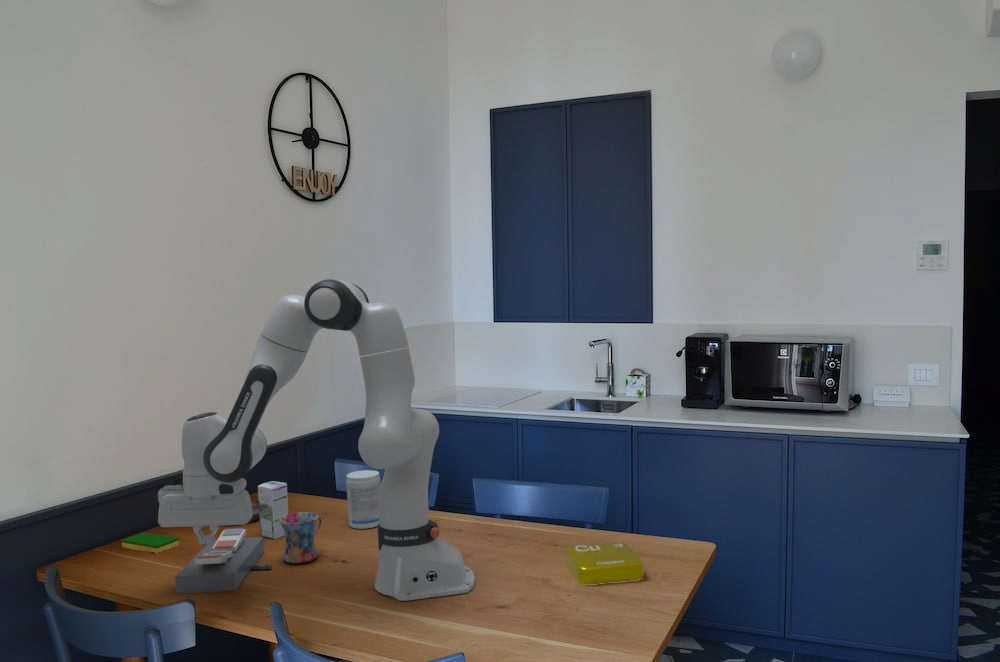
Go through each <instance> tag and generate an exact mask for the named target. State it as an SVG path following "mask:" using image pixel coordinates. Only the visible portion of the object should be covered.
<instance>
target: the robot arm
mask: <svg viewBox="0 0 1000 662" xmlns="http://www.w3.org/2000/svg"><path fill="white" fill-rule="evenodd" d="M322 329H327V330H334V331H345V332H348V331H349V332H351V333H352V334H353V337H355V341H356V344H357V348H358V349H357V350H358V354H359V359H360V365H361V370H362V371H361V372H362V375H363V377H362V378H363V382H364V389H365V411H364V423H363V428H362V432H361V433H360V435H359V438H358V443H357V445H358V446H357V448H358V452H359V455H360V456H359V457H361V459H362V461H363V462H364V463H365V464H366V465H367V466H368V467H370V468H372V469H375V470H384V474H383V477H382V480H381V481H380V486H379V490H378V502H379V524H378V526H377V531H376V532H377V533H376V535H377V536H376V537H377V547H378V551H379V554H378V568H377V574H376V577H375V583H374V589H375V591H377V592H378V593H380V594H383V595H384V596H390V597H392V598H394V599H396V601H398V602H399V601H400V602H407V601H414V600H423V599H429V598H430V597H431V598H438V597H445V596H452V595H454V596H455V595H459V594H467V593H469V592H470V591H471V590H472V589H473V588H474V587H475V583H476V580H475V578H476V577H475V573H474V571H473V569H472V568H470V567H468V566H466V565H465V562H464V558H463V556H462V553H461V551H460V550H459V549H458V548H457V547H456V546H455V545H452V544H451V543H449V542H448V541H446V540H445V539H443V538H442V537H440V534H441V531H440V528H439V525H438V522H437V520H434V521H433V520H431V519H430V518H429V517H430V515H429V514H430V513H429V481H430V473H431V467H432V463H433V462H432V461H433V454H434V450H435V446H436V443H437V440H438V439H439V435H440V425H439V422H438V419H437V418H436V417H435V415H434V414H433V413H431V411H428V410H426V409H423V408H414V407H413V408H412V395H413V390H414V388H415V384H416V378H415V374H414V373H415V372H414V367H413V363H412V357H411V353H410V348H409V343H408V337H407V334H406V331H405V327H404V324H403V322H402V319H401V317H400V314H399V311H398V310H397V308H396V307H395V306H393V305H392V304H389V303H386V302H373V303H370V301H369V297H368V295H367V293H366V292H365V291H364V290H363V289H362V288H361V287H359V286H358V285H356V284H354V283H350V282H348V281H346V280H341V279H324V280H323V279H322V280H321V281H318V282H316V283H314V284H313V285H312V286H311V287H310V288H309V289H308V290H307V293H306V294H305V296H303V295H299V294H287V295H284V296H282V297H280V299H278V301H277V302H276V304H275V305H274V307H273V309H272V310H271V312H270V314H269V315H268V317H267V319H266V321H265V323H264V326H263V328H262V330H261V332H260V334H259V337H258V340H257V342H256V345H255V349H254V351H253V355H252V358H251V360H250V365H249V367H248V369H247V370H248V371H247V373H246V376H245V378H244V379H245V380H244V383H243V385H242V387H241V389H240V392H239V394H238V395H237V398H236V400H235V402H234V405H233V407H232V409H231V412H230V413H229V415H228V418H225V417H223V416H222V415H221V414H220V413H218V412H215V411H210V412H204V413H200V414H197V415H194V416H191V417H189V418H188V419H186V420H185V421H184V423H183V425H182V430H181V431H182V432H181V457H182V459H183V470H182V484H176V485H171V484H169V485H164V486H163V487H162V488H160V489H159V490H158V491H157V500H158V503H159V506H158V516H157V523H158V525H159V526H160V527H161V528H180V527H181V528H182V527H183V528H186V527H189V528H190V527H192V530H193V533H194V534H195V535H196V537H197V538H198V544H199V545H198V546H206V545H213V544H214V539H215V536H216V533H217V531H218V530H219V528H220V526H244V525H247V524H248V522H249V521H250V520H251V518H252V505H251V500H252V499H251V495H250V494H249V492H248V490H246V486H247V480H246V478H244V477H245V476H246V475H247V473H248V472H249V471H250V470H251V469H252V468H254V467H255V466H256V465H257V464H258V463H259V462H261V460H262V459H263V458H264V457H265V455H266V452H267V448H268V443H267V442H268V441H267V439H266V437H265V435H264V433H263V432H262V431H261V430H260V429H259V428H258V427H259V426H260V425H259V424H260V423H261V421H262V418H263V416H264V413H265V412H266V409H267V407H268V405H269V404H270V403H271V401H272V399H273V398H274V397H275V395H277V393H278V392H279V391H281V390H282V388H284V386H286V385H287V384H288V383H289V382H290V381H291V380H293V379H294V377H295V376H296V375H297V373H298V372H299V370H300V368H301V367H302V366H303V364H304V361H305V360H306V358H307V355H308V353H309V350H310V347H311V346H312V341H313V340H314V338H315V336H316V334H317V333H318V332H319V331H320V330H322ZM249 523H250V522H249ZM208 526H209V530H210V531H211V533H210V534H209V535H208V534H204V532H203V530H202V529H203V527H208Z"/></svg>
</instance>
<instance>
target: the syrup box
mask: <svg viewBox="0 0 1000 662" xmlns="http://www.w3.org/2000/svg"><path fill="white" fill-rule="evenodd" d="M257 495H258V497H257V498H258V500H259V515H260V519H259V526H260V529H259V530H260V537H263V538H266V539H272V540H277V539H281V538H283V537H285V533H284V530H283V527H282V525H281V523H280V518H282V517H283V516H286V515H289V501H288V483H287V482H280V481H274V480H271V481H267V482H264V483H261V484H259V485H257Z"/></svg>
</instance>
